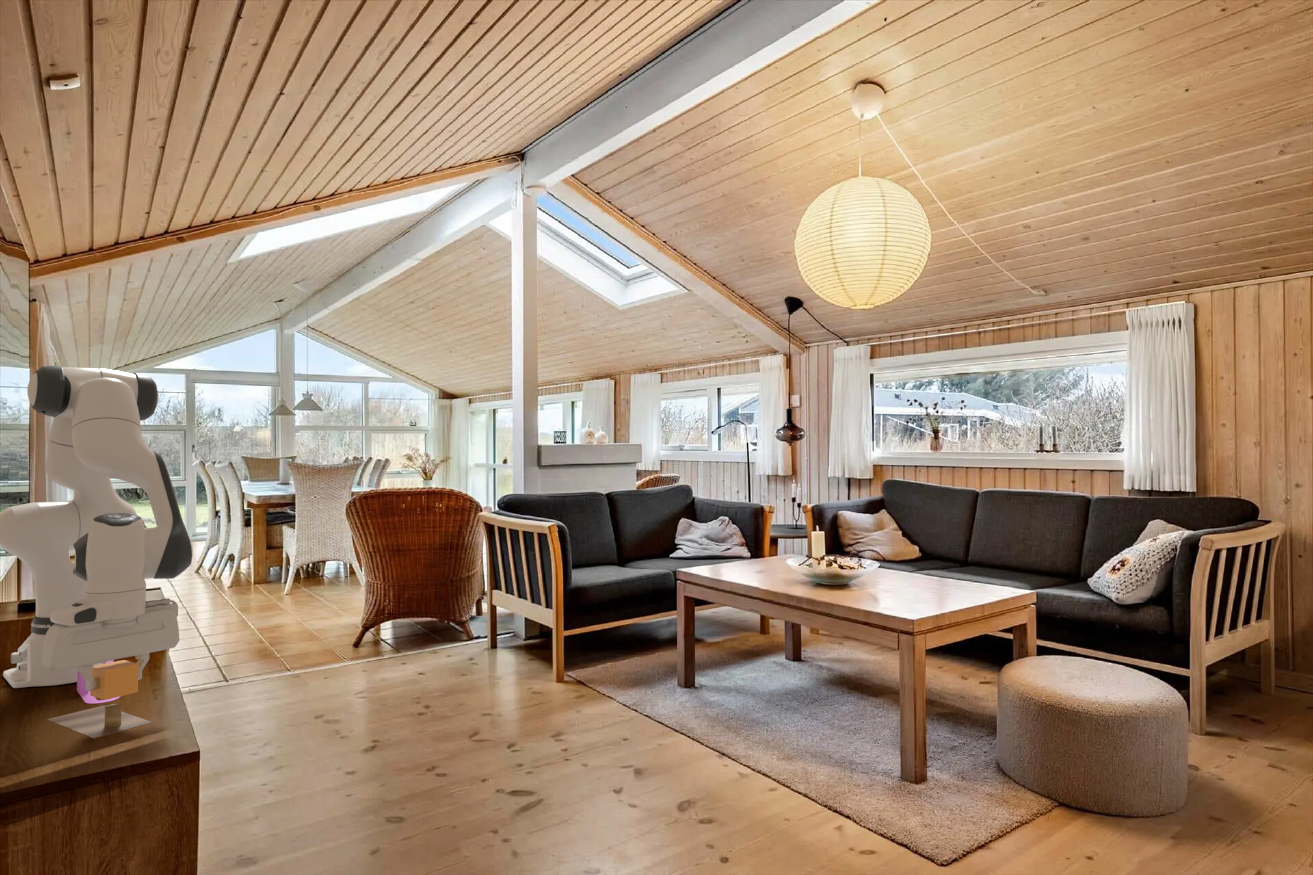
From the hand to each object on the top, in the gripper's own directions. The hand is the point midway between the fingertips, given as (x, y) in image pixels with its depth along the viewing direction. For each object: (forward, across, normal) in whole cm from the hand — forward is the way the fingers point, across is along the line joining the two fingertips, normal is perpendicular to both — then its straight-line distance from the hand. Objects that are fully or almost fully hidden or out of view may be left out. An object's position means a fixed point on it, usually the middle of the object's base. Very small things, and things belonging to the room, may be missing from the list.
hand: (114, 684), depth 132 cm
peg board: (+8, 0, -5) cm, 10 cm away
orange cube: (+2, 0, 0) cm, 2 cm away
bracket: (+9, -7, -22) cm, 25 cm away
